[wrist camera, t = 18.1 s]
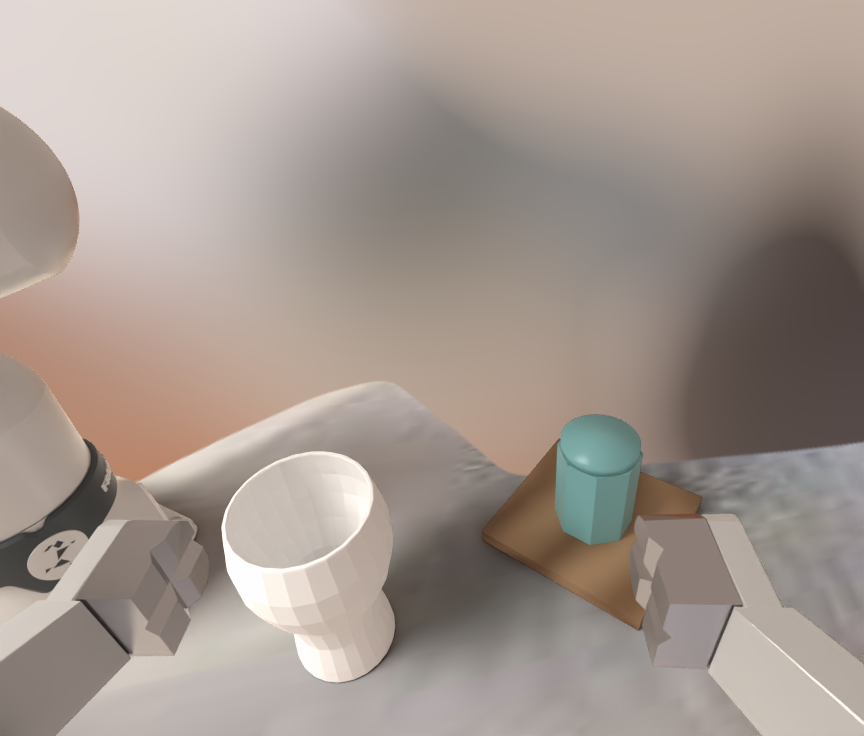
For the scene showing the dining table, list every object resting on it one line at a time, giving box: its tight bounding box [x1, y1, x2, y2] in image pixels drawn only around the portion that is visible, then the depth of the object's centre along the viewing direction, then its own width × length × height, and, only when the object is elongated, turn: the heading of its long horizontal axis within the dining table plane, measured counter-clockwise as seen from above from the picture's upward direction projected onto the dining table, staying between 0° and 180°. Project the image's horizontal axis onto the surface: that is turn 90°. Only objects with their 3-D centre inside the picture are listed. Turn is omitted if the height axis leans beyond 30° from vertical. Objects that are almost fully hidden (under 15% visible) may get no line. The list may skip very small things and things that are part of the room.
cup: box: [221, 451, 395, 683], centre depth 37 cm, size 11×11×15 cm
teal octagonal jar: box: [555, 414, 643, 545], centre depth 44 cm, size 6×6×9 cm
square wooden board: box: [482, 439, 702, 631], centre depth 46 cm, size 14×14×5 cm
